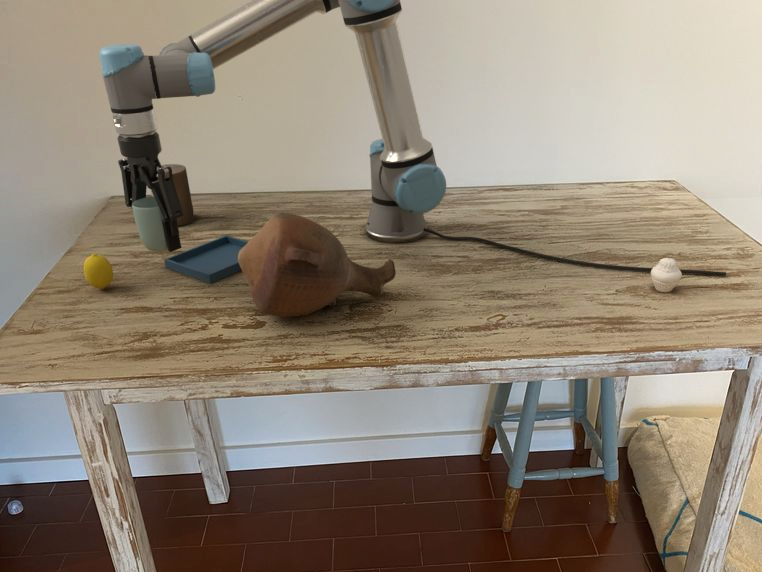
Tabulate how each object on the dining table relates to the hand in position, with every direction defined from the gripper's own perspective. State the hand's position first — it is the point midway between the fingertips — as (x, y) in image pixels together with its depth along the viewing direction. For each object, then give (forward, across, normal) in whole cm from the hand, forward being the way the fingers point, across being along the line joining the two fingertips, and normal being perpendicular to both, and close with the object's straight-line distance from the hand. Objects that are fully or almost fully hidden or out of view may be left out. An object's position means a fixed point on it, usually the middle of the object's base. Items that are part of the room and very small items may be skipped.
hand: (161, 245), depth 147 cm
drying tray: (+9, -1, +15) cm, 17 cm away
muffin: (+11, +87, +58) cm, 105 cm away
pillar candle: (+9, -32, +27) cm, 43 cm away
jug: (+10, +34, +11) cm, 37 cm away
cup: (+1, 0, 0) cm, 1 cm away
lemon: (+9, -10, -9) cm, 17 cm away
